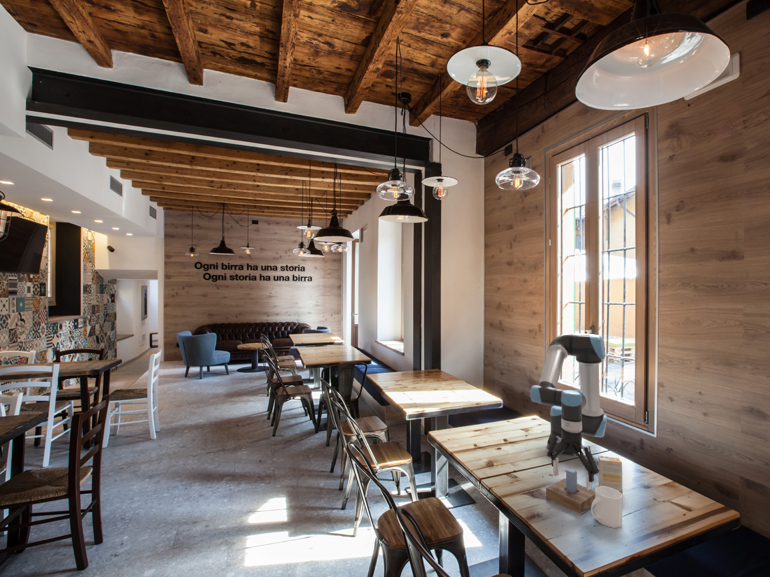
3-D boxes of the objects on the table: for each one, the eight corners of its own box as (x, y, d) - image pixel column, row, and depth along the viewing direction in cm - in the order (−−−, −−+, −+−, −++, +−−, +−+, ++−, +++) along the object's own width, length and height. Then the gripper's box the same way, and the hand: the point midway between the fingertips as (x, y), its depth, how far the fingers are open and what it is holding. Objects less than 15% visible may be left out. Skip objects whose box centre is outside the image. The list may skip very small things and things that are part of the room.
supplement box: (619, 488, 159) (619, 457, 159) (622, 493, 155) (622, 462, 155) (597, 484, 162) (597, 454, 162) (600, 490, 157) (600, 459, 157)
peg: (569, 497, 152) (569, 467, 152) (577, 500, 149) (577, 470, 150) (566, 499, 150) (565, 469, 150) (573, 502, 148) (573, 472, 148)
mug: (582, 517, 138) (582, 488, 138) (608, 512, 141) (608, 484, 141) (600, 531, 130) (600, 501, 130) (628, 526, 133) (627, 496, 133)
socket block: (564, 487, 159) (564, 478, 159) (598, 502, 148) (598, 492, 148) (546, 497, 151) (546, 487, 151) (580, 514, 140) (580, 503, 140)
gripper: (538, 422, 158) (538, 472, 158) (599, 441, 138) (599, 498, 137) (548, 419, 162) (548, 467, 162) (608, 437, 142) (608, 492, 142)
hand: (571, 481), depth 150 cm, fingers open, 13 cm apart
